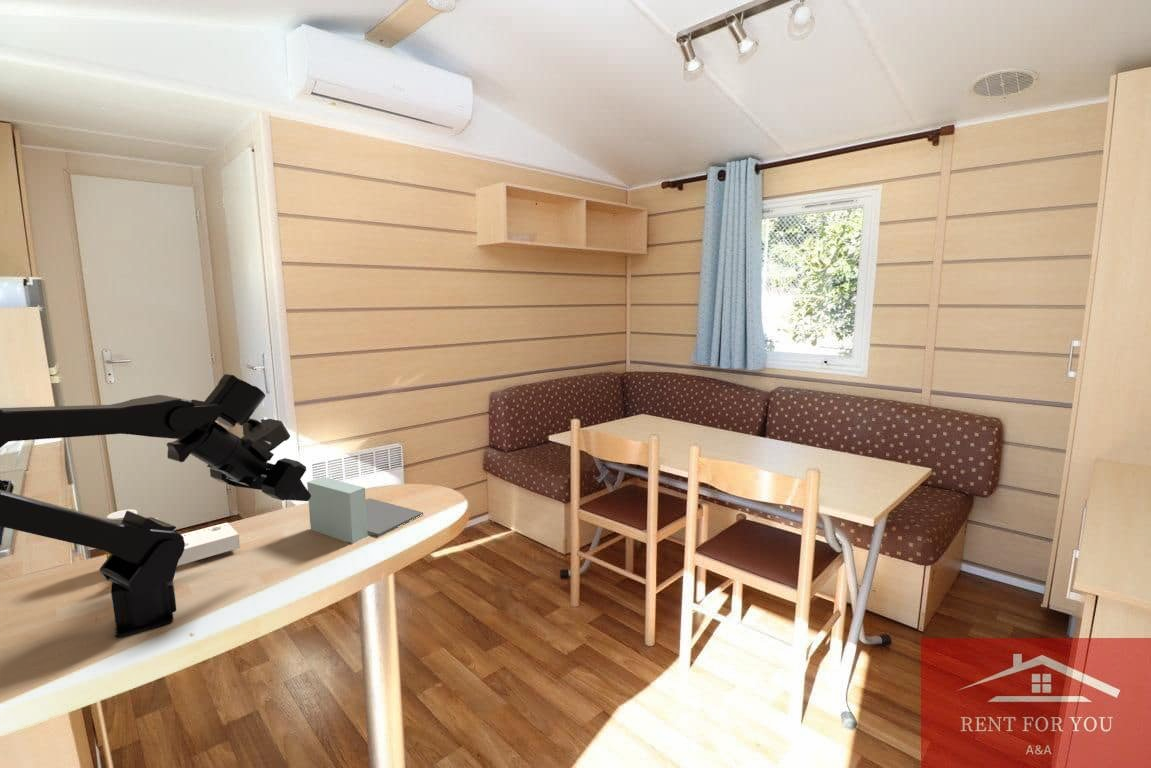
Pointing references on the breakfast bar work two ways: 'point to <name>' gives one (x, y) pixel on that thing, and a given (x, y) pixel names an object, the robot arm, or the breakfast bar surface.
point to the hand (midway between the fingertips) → (292, 493)
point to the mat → (386, 516)
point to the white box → (208, 542)
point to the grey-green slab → (337, 509)
